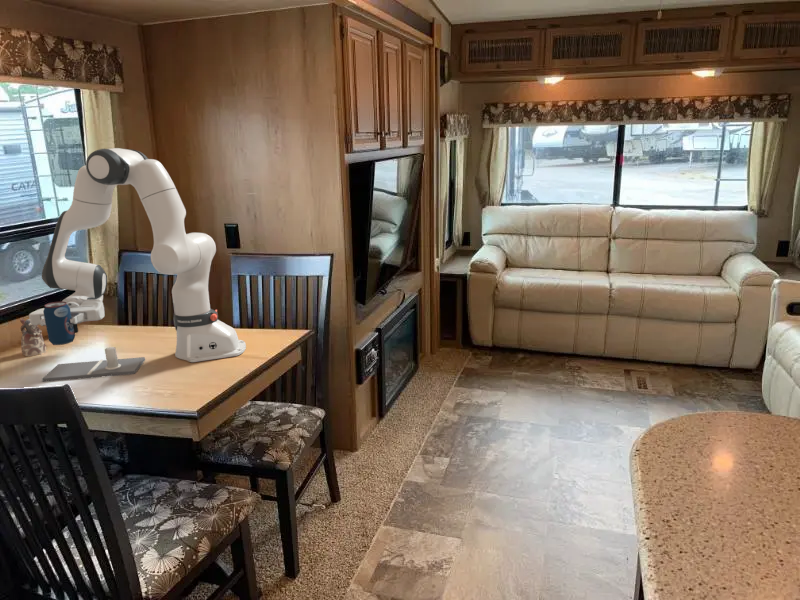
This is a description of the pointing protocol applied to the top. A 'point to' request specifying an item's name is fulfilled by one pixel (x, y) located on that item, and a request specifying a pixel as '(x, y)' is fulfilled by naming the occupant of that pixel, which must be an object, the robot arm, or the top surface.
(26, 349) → the figurine
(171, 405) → the top surface
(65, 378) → the board
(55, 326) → the soda can
